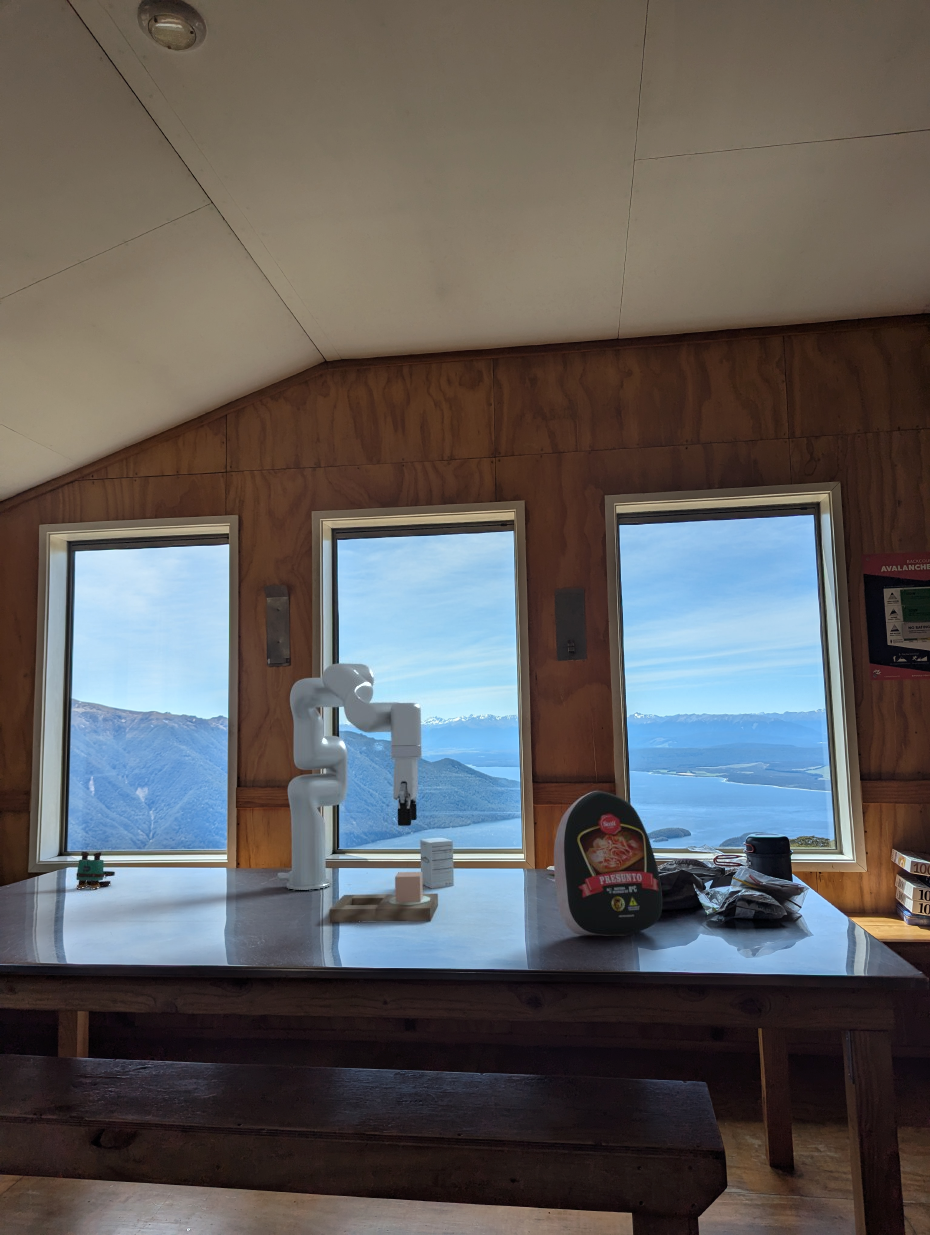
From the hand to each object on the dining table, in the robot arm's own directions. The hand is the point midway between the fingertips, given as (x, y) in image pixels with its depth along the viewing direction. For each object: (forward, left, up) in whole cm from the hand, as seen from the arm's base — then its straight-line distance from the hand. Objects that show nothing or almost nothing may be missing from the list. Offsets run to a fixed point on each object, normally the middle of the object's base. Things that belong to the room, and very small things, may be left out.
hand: (407, 822), depth 209 cm
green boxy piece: (-100, +39, -22) cm, 109 cm away
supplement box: (+3, +34, -22) cm, 40 cm away
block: (0, 0, -18) cm, 18 cm away
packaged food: (+46, -21, -22) cm, 55 cm away
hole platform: (-6, 0, -22) cm, 22 cm away
